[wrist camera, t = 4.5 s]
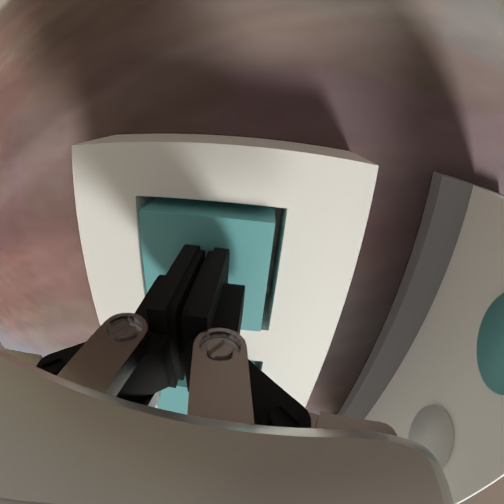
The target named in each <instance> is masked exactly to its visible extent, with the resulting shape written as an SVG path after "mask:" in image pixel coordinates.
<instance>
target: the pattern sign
mask: <svg viewBox="0 0 504 504" xmlns="http://www.w3.org/2000/svg"><path fill="white" fill-rule="evenodd" d="M337 415H341V416H346V417H352V418H358V419H365V420H371V421H379V422H383V423H386V424H388V425H389V426H391V427H392V428H393V429H394V430H395V432H396V434H397V436H398V437H402V438H406V439H409V440H411V441H414V442H417V443H419V444H421V445H423V446H424V447H426V448H427V449H429V450H430V451H431V452H432V453H433V454H434V455H435V457H436V458H437V460H438V461H439V463H440V465H441V467H442V469H443V472H444V474H445V477H446V479H447V482H448V485H449V488H450V492H451V495H452V499H453V503H454V504H459V503H461V502H463V501H464V500H466V499H468V498H470V497H471V496H473V495H475V494H476V493H478V492H480V491H481V490H483V489H485V488H486V487H488V486H489V485H491V484H492V483H494V482H495V481H497V480H498V479H500V478H501V477H503V476H504V195H502V194H500V193H497V192H495V191H492V190H490V189H487V188H484V187H481V186H478V185H476V184H473V183H470V182H467V181H464V180H461V179H458V178H455V177H451V176H448V175H445V174H442V173H438V172H435V171H433V175H432V180H431V184H430V188H429V193H428V197H427V201H426V205H425V209H424V212H423V216H422V220H421V223H420V227H419V230H418V234H417V237H416V240H415V243H414V247H413V250H412V253H411V256H410V259H409V262H408V265H407V267H406V270H405V273H404V276H403V279H402V281H401V284H400V287H399V289H398V292H397V294H396V297H395V299H394V302H393V304H392V307H391V309H390V312H389V314H388V316H387V319H386V321H385V323H384V326H383V328H382V330H381V332H380V335H379V337H378V339H377V341H376V343H375V345H374V347H373V349H372V352H371V354H370V356H369V358H368V360H367V362H366V364H365V366H364V367H363V369H362V371H361V373H360V375H359V377H358V379H357V381H356V383H355V384H354V386H353V388H352V390H351V392H350V393H349V395H348V397H347V399H346V400H345V402H344V404H343V406H342V407H341V409H340V411H339V412H338V414H337Z"/></svg>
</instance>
